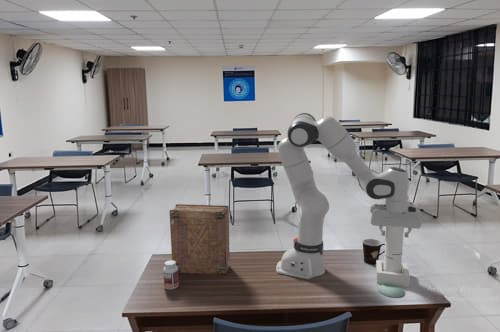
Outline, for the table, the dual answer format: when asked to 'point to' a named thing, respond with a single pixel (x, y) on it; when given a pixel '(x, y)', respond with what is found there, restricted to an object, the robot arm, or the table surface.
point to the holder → (392, 275)
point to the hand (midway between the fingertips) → (394, 236)
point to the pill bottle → (171, 275)
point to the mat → (391, 290)
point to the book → (200, 238)
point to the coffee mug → (371, 251)
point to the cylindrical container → (393, 248)
